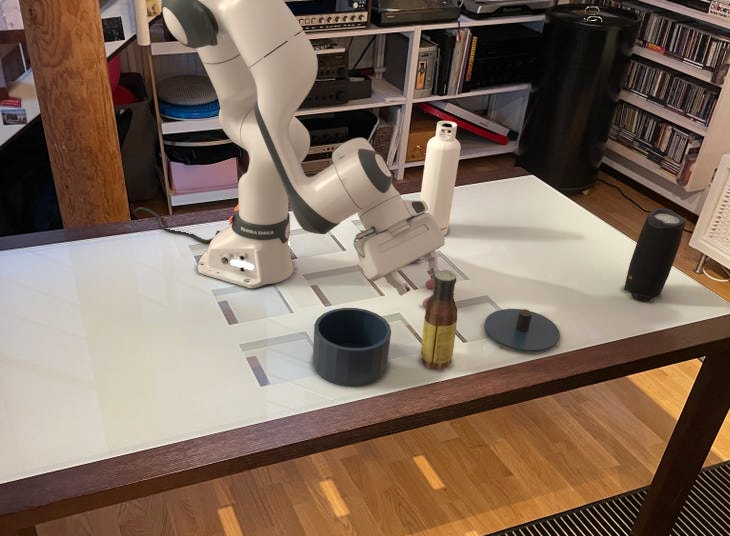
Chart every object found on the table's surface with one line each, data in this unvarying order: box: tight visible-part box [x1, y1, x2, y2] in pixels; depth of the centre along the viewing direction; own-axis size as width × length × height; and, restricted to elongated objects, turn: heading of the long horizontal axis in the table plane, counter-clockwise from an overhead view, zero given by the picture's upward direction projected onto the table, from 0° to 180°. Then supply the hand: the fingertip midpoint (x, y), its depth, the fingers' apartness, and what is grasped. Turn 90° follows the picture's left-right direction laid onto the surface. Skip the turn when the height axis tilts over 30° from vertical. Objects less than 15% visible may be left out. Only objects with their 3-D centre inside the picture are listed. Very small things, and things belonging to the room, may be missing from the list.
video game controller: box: [422, 278, 435, 309], centre depth 170 cm, size 10×5×7 cm, turn 168°
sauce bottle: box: [420, 269, 459, 370], centre depth 146 cm, size 7×6×20 cm
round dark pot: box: [312, 307, 392, 388], centre depth 148 cm, size 15×15×8 cm
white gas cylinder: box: [419, 120, 462, 237], centre depth 191 cm, size 8×8×28 cm
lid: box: [483, 308, 561, 353], centre depth 160 cm, size 16×16×5 cm
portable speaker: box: [623, 207, 687, 302], centre depth 170 cm, size 9×9×20 cm
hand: (421, 284), depth 145 cm, fingers open, 8 cm apart
